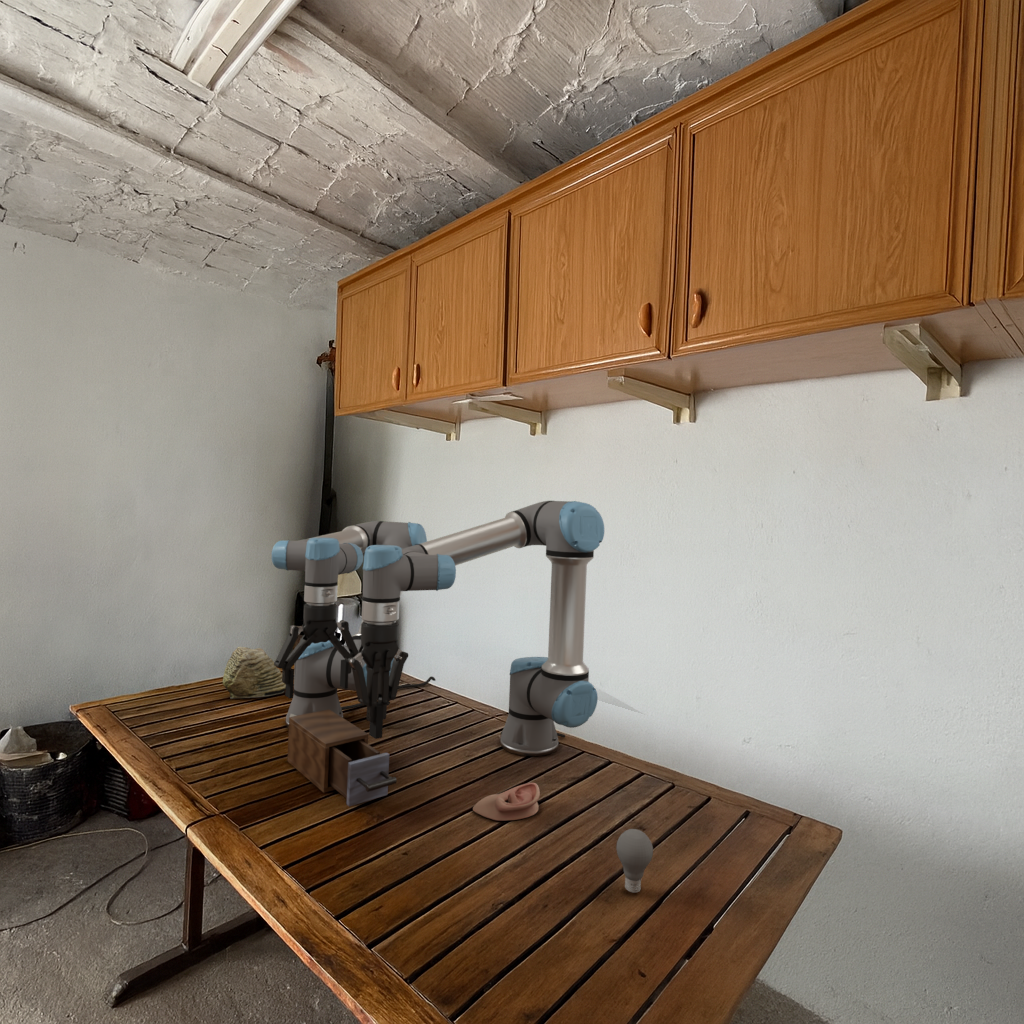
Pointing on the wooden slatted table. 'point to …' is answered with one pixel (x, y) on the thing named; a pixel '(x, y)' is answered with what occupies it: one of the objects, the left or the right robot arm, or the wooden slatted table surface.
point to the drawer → (359, 772)
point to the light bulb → (634, 857)
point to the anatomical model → (510, 803)
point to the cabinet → (318, 743)
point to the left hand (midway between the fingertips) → (317, 692)
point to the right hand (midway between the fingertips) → (375, 736)
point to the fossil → (252, 674)
